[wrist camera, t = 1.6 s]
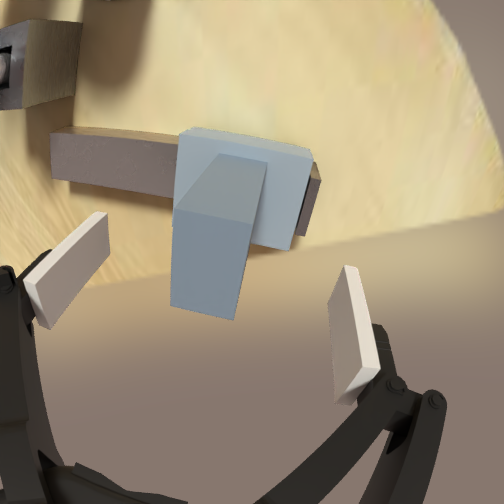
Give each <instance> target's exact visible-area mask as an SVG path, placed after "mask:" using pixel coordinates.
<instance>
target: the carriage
mask: <svg viewBox="0 0 504 504" xmlns="http://www.w3.org/2000/svg"><path fill="white" fill-rule="evenodd" d="M313 160H314V159H313V156H312V153H311V151H310V149H308V148H303V147H299V146H295V145H291V144H286V143H282V142H277V141H272V140H267V139H263V138H257V137H252V136H247V135H242V134H236V133H230V132H225V131H218V130H212V129H206V128H199V127H192V128H191V129H187V130H185V131H184V132H182V133H180V134H179V143H178V153H177V163H176V175H175V187H174V200H173V216H172V227H173V235H172V258H171V304H170V305H171V306H173V307H178V308H181V309H185V310H190V311H194V312H198V313H203V314H207V315H212V316H216V317H221V318H225V319H230V320H234V316H235V311H236V307H237V302H238V297H239V293H240V288H241V283H242V279H243V275H244V270H245V266H246V261H247V257H248V252H249V248H250V243H253V244H257V245H262V246H267V247H271V248H276V249H281V250H285V251H289V248H290V244H291V241H292V237H293V234H294V230H295V227H296V223H297V219H298V216H299V212H300V209H301V205H302V201H303V198H304V194H305V190H306V186H307V183H308V179H309V175H310V171H311V168H312V164H313Z"/></svg>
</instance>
